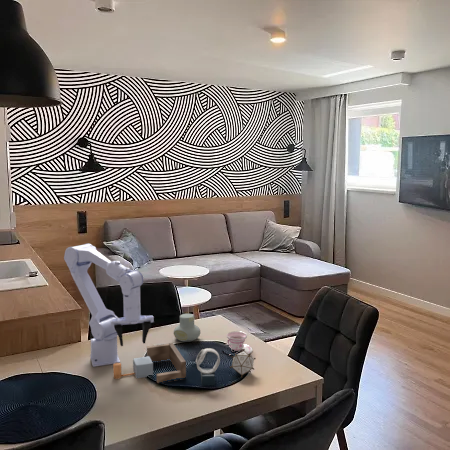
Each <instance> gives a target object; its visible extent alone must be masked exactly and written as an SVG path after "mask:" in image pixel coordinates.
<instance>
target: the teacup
mask: <svg viewBox="0 0 450 450" xmlns="http://www.w3.org/2000/svg"><path fill="white" fill-rule="evenodd" d="M247 337H248V333H247V332H244V331H240V330H236V331H231V332H228V333H226V338H227V344H226V345H229V347H230V348H231V351H233V350H234V351H233V352H235V351H238V352H242V351H241V350H243V349H245V350H244V351H245V352H246V353H247V354H250V355H251V354H252V352H253V347H252V346H251V345H249V344H245V341H246V339H247ZM230 355H231V354H229V355H228V356H230Z"/></svg>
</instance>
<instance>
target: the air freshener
mask: <svg viewBox="0 0 450 450" xmlns="http://www.w3.org/2000/svg"><path fill="white" fill-rule="evenodd" d="M200 335H201V328H200V327H199V326H198V325H196V324H195V315H194V314H192V313H183V314H181V315H179V324H178V325H177V326H176V327H174V329H173V336H174V337H175V339H177V340H178V341H181V342H183V343H189V342H192V341H196V340H197V339H198V338H199V337H200Z"/></svg>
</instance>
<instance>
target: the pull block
mask: <svg viewBox="0 0 450 450" xmlns="http://www.w3.org/2000/svg"><path fill="white" fill-rule="evenodd" d="M132 363H133V364H132V367H133V369H132V371H133V372H130V373H125V374H122V363H121V362H120V363H115V364H112V365H113V366H112V369H113V379H114V380H120V379H121V378H122V377H127V376H134V375H135V378H136V379H140V378H147V376H148V375H153V376H154V363H153V362H152V360H151V359H150V357H149V356H147V355H146V356H142V357H134V358H132ZM148 377H149V376H148Z"/></svg>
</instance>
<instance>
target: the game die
mask: <svg viewBox="0 0 450 450" xmlns="http://www.w3.org/2000/svg"><path fill="white" fill-rule="evenodd" d="M244 350H245V349H242V351H239V352H240V353H238V352H236V353H238V354H236V353H235V356H231V358H232V364H231V366H229V369H230V368H231V369H234V370H235V372H237V373H238V374H239V375H241V376H240V378H243V376H244V375H245V374H247V373H252V372H251V370H255V368H254V361H255V360H256V357H253V356H251V353H250V354H247V353H246V352H245V351H244Z"/></svg>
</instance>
